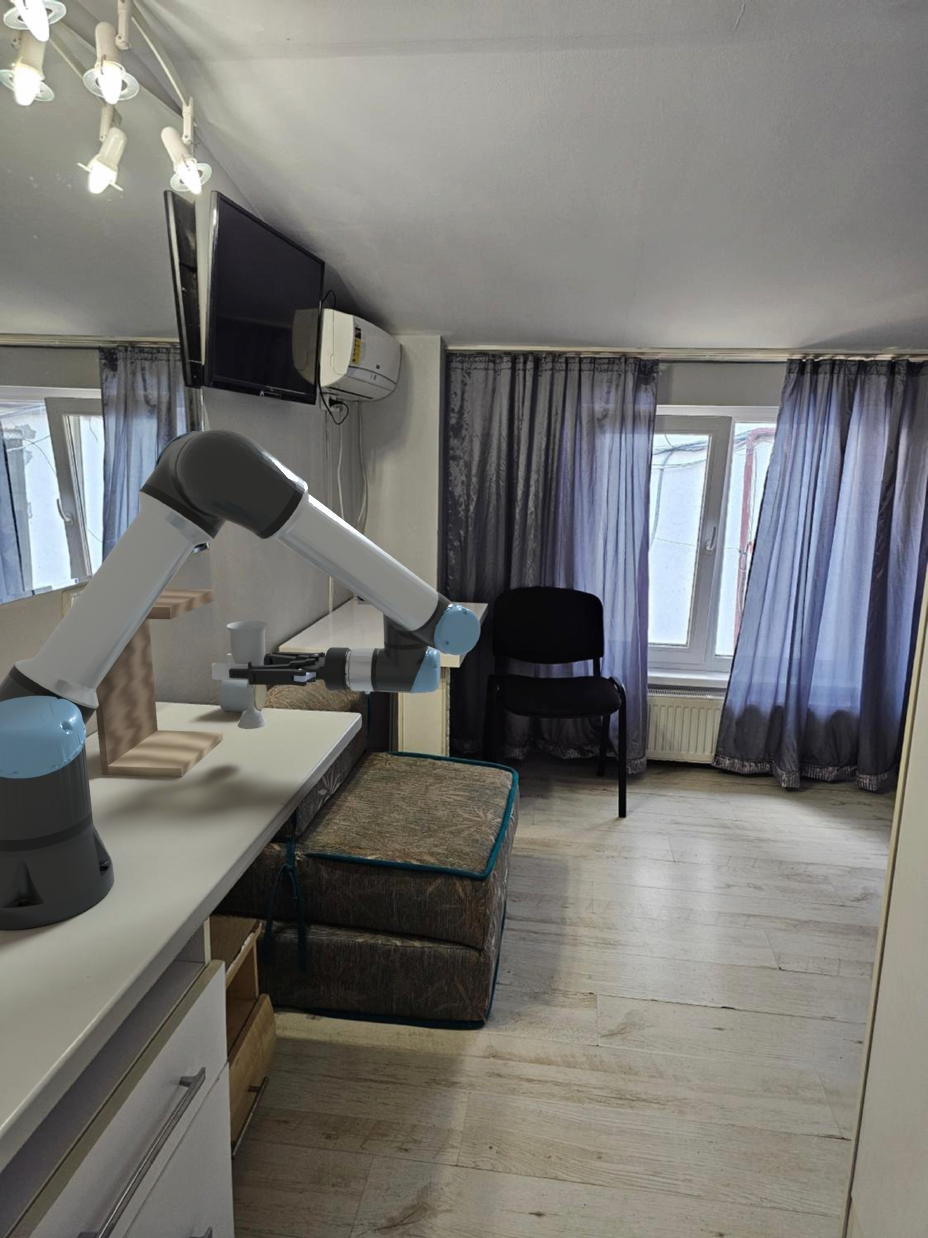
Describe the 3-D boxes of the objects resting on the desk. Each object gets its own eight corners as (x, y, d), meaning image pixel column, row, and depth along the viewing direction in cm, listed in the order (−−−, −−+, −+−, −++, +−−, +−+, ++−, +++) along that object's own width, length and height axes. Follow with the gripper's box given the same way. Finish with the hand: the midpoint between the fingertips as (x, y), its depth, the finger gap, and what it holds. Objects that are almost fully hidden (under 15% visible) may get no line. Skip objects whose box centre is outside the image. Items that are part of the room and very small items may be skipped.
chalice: (230, 720, 138) (224, 622, 134) (268, 715, 140) (263, 619, 137) (234, 733, 131) (228, 630, 127) (275, 728, 134) (270, 627, 130)
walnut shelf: (181, 776, 129) (169, 607, 123) (101, 774, 130) (86, 605, 124) (223, 739, 146) (214, 589, 140) (152, 737, 147) (140, 588, 142)
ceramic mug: (255, 717, 159) (254, 681, 158) (218, 715, 160) (216, 679, 159) (275, 703, 170) (273, 669, 168) (240, 701, 171) (238, 667, 169)
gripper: (337, 707, 124) (199, 703, 125) (362, 675, 142) (241, 672, 144) (336, 662, 122) (196, 658, 124) (361, 636, 141) (239, 633, 143)
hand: (220, 666), depth 134 cm, fingers closed on chalice, 6 cm apart
